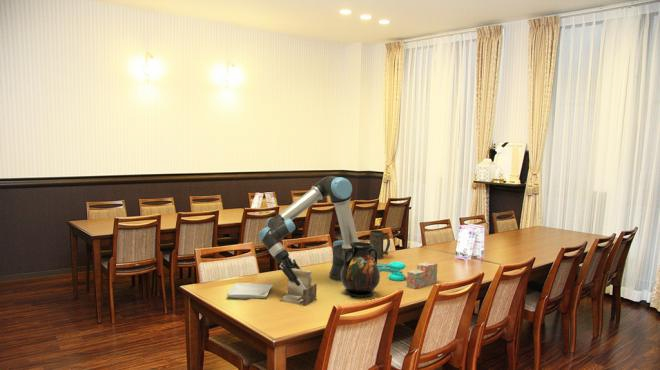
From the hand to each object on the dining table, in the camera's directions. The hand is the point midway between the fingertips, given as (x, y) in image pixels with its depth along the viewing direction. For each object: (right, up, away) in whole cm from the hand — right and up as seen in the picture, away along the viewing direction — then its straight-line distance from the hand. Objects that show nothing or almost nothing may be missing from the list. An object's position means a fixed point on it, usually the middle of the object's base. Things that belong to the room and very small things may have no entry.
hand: (305, 289), depth 254 cm
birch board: (-4, -5, +2) cm, 7 cm away
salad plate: (-30, -5, +10) cm, 32 cm away
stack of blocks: (+67, -6, +38) cm, 77 cm away
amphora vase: (+28, -7, +16) cm, 33 cm away
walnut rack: (-4, -7, 0) cm, 8 cm away
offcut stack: (-6, -6, -3) cm, 9 cm away
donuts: (+53, -5, +50) cm, 73 cm away
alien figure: (+48, -3, +70) cm, 85 cm away
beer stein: (+48, 0, +104) cm, 115 cm away
